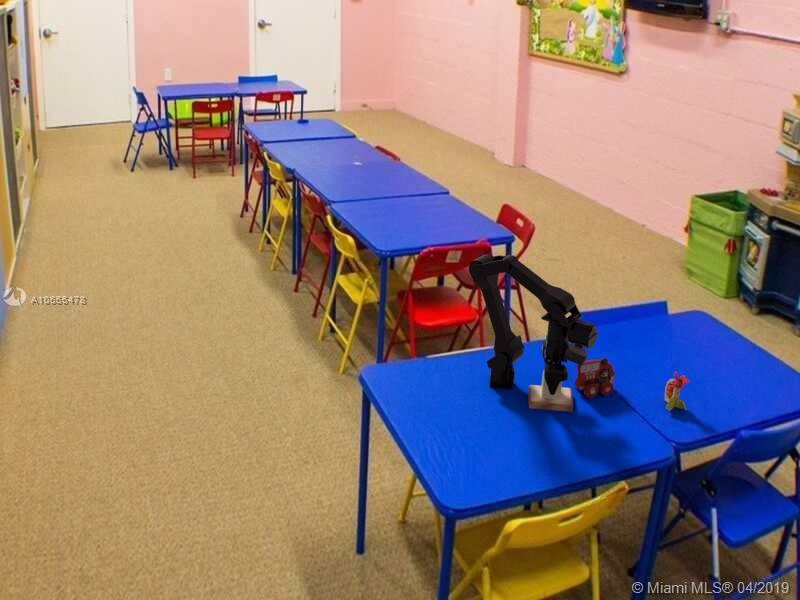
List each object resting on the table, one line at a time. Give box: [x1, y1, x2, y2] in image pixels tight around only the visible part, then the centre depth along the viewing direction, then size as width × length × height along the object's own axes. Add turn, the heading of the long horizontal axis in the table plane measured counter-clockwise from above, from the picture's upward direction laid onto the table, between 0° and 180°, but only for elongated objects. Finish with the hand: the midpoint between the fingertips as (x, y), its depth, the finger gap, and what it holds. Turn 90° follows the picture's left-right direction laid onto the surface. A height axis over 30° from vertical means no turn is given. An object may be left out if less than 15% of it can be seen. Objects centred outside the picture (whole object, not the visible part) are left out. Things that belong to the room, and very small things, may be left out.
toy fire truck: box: [573, 357, 616, 399], centre depth 243 cm, size 7×12×10 cm, turn 110°
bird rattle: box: [664, 371, 691, 412], centre depth 237 cm, size 6×11×9 cm
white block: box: [540, 369, 563, 399], centre depth 237 cm, size 5×5×6 cm
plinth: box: [527, 384, 574, 413], centre depth 239 cm, size 12×9×2 cm
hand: (551, 386), depth 237 cm, fingers open, 9 cm apart
